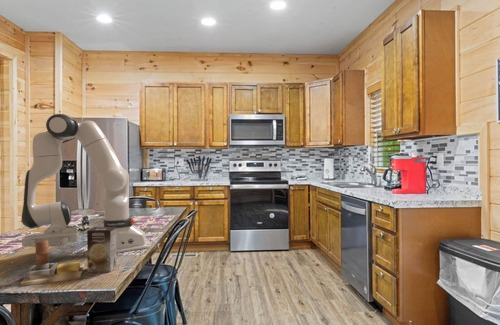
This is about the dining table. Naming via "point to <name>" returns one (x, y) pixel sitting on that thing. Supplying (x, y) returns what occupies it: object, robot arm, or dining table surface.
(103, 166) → the robot arm
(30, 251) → the dining table surface
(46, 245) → the terracotta peg
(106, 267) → the coffee box
